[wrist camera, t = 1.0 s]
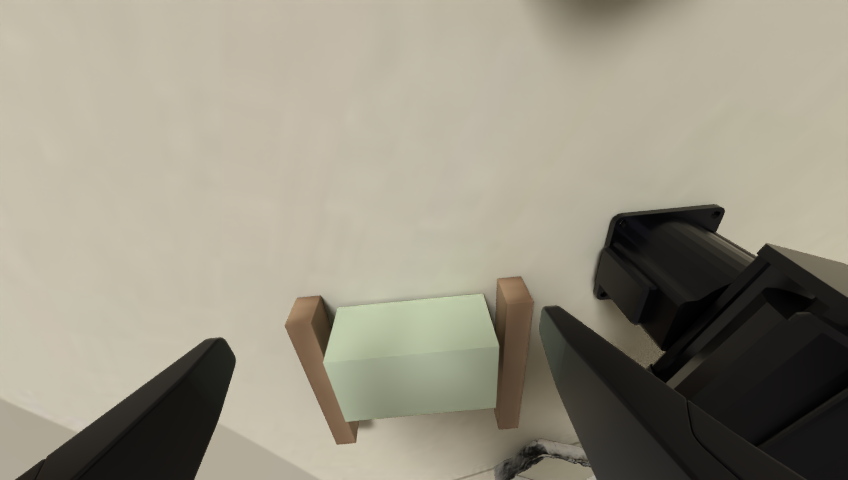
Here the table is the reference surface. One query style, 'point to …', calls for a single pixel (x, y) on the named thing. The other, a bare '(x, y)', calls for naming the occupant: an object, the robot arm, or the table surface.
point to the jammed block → (413, 358)
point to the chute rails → (510, 328)
